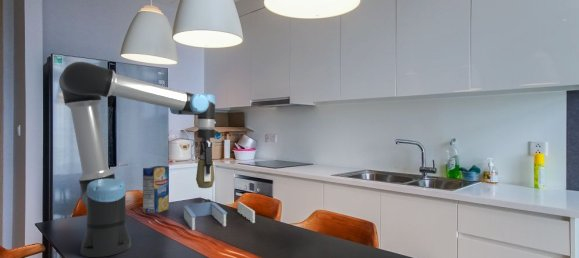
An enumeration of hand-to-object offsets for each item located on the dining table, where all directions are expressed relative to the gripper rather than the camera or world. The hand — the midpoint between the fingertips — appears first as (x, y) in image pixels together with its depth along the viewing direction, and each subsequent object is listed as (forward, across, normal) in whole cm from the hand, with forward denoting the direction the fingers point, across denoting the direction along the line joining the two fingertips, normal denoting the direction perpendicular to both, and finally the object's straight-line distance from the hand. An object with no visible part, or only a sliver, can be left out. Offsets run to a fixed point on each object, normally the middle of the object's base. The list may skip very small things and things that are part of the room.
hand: (205, 179), depth 152 cm
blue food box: (+19, +31, +18) cm, 41 cm away
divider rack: (+19, 0, -6) cm, 20 cm away
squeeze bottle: (+4, 0, 0) cm, 4 cm away
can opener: (+19, +18, -2) cm, 27 cm away
